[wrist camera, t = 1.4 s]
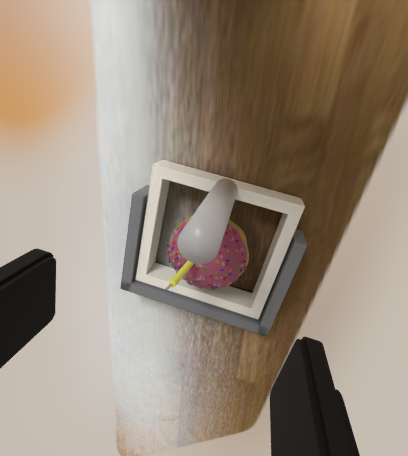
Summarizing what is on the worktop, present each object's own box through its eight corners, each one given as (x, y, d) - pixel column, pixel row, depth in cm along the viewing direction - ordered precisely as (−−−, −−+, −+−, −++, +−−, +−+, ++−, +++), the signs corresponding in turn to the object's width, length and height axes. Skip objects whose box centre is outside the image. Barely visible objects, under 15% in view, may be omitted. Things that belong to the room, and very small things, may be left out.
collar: (163, 154, 29) (73, 187, 15) (303, 192, 28) (344, 268, 14) (145, 267, 36) (68, 366, 21) (258, 303, 34) (256, 434, 20)
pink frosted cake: (178, 259, 35) (139, 324, 24) (182, 195, 31) (140, 237, 20) (244, 272, 33) (236, 346, 23) (256, 207, 30) (254, 258, 19)
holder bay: (147, 185, 32) (132, 194, 28) (301, 230, 30) (307, 245, 26) (134, 271, 37) (120, 288, 33) (266, 314, 35) (266, 336, 31)
